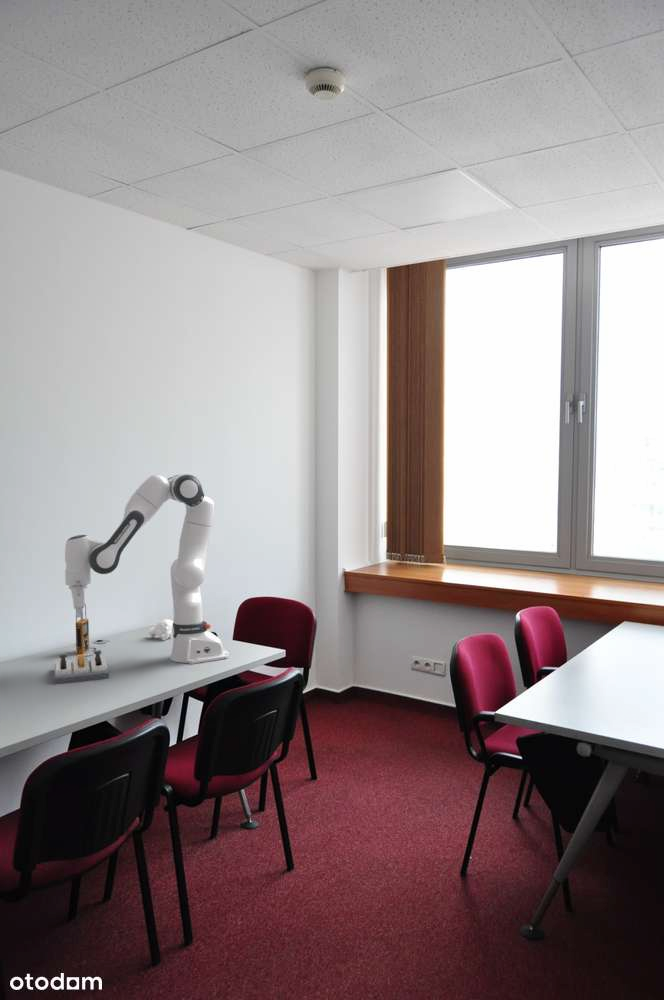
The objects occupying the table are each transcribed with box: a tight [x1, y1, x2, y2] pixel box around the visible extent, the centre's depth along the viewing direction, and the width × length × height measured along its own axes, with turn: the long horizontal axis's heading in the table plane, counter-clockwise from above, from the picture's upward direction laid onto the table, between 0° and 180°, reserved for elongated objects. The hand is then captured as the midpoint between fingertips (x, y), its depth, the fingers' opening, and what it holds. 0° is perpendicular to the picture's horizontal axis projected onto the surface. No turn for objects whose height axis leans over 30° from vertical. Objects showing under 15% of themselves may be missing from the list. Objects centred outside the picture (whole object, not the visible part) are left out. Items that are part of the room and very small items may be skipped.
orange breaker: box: [76, 653, 85, 667], centre depth 267 cm, size 2×2×5 cm
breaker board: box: [54, 655, 110, 685], centre depth 268 cm, size 19×18×4 cm
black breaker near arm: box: [93, 649, 102, 664], centre depth 273 cm, size 2×2×5 cm
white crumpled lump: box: [148, 618, 174, 641], centre depth 320 cm, size 6×8×12 cm
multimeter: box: [75, 604, 97, 658], centre depth 297 cm, size 15×10×20 cm
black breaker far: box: [59, 653, 67, 668], centre depth 269 cm, size 2×2×5 cm
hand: (78, 616), depth 272 cm, fingers closed
